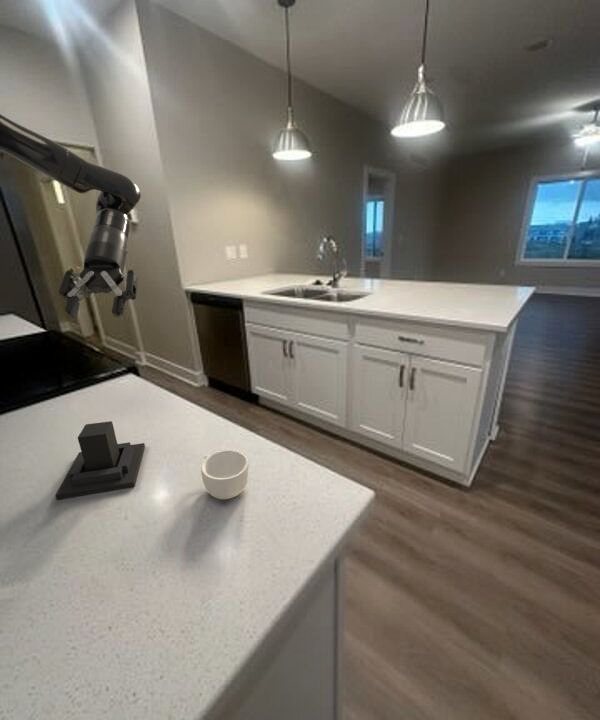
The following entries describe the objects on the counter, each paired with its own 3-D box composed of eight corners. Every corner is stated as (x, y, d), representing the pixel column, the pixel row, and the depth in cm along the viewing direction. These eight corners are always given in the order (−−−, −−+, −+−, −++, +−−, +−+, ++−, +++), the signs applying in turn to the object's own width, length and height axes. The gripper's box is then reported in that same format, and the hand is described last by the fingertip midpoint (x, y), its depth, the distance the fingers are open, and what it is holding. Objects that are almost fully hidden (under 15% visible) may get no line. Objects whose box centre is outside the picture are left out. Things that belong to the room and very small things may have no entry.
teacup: (259, 488, 59) (257, 462, 57) (222, 514, 54) (219, 487, 52) (224, 463, 65) (221, 439, 64) (188, 484, 60) (184, 459, 58)
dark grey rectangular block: (88, 475, 61) (77, 437, 58) (95, 460, 65) (85, 424, 62) (115, 471, 62) (105, 434, 59) (120, 456, 66) (112, 420, 63)
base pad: (56, 500, 57) (52, 488, 56) (80, 456, 68) (77, 445, 67) (134, 486, 60) (132, 475, 59) (145, 446, 71) (143, 436, 70)
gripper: (63, 240, 72) (45, 306, 65) (134, 239, 73) (122, 304, 66) (82, 263, 78) (67, 325, 72) (146, 263, 79) (137, 324, 73)
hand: (93, 315), depth 69 cm, fingers open, 8 cm apart
